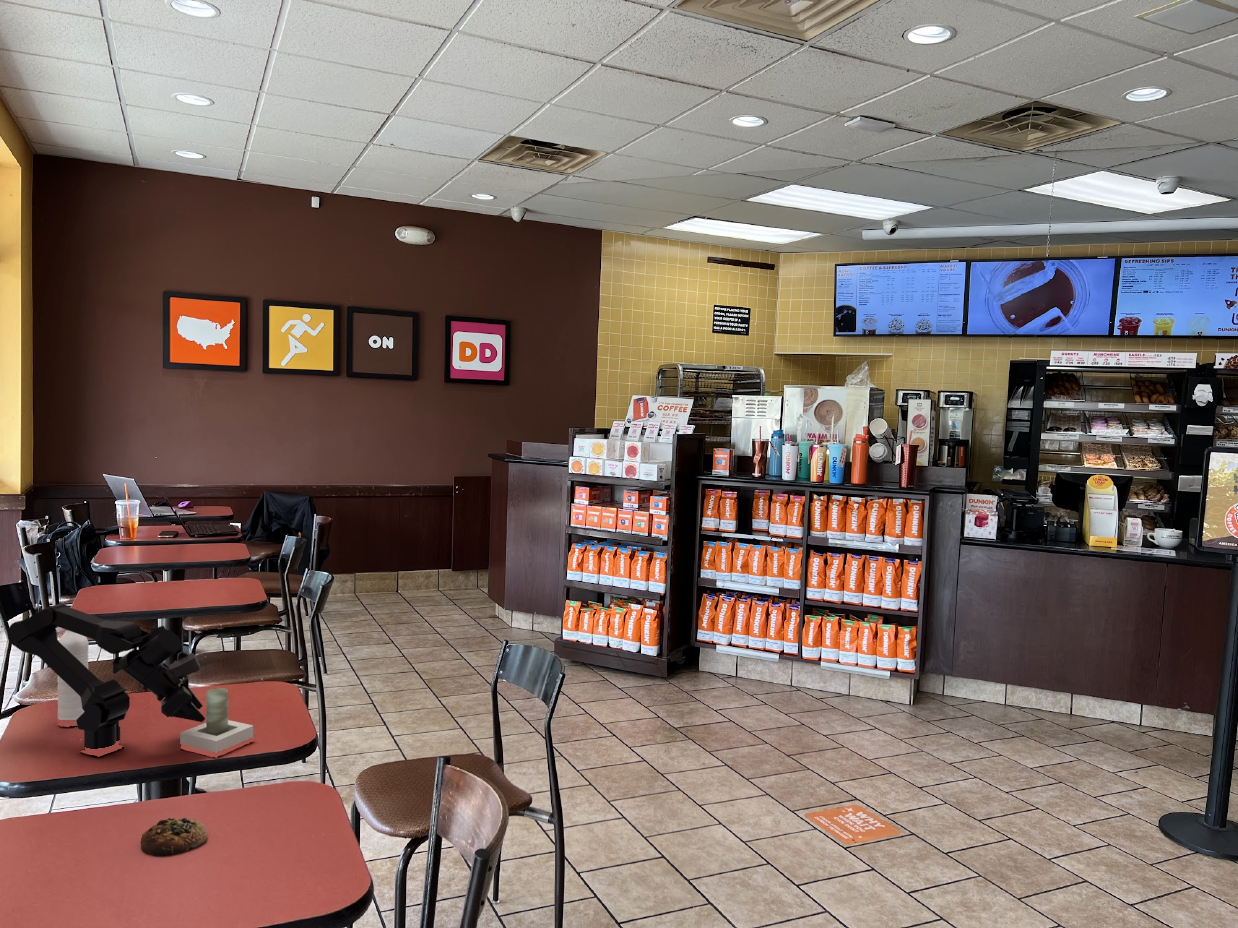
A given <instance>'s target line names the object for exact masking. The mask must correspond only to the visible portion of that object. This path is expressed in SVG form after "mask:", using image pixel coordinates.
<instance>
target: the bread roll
mask: <svg viewBox="0 0 1238 928" xmlns="http://www.w3.org/2000/svg"><path fill="white" fill-rule="evenodd" d="M207 833H208V831H207V827H206V826H205V825H204V823H202V822H200V821H198V819H193V820H192V819H191V820H190V818H187V817H183V818H181V819H180V818H178V819H177V818H173V817H172V818H171V817H168V818H167V819H160V820H159V821H158V822H157V823H156V824H153V825H152V826H151V827H149V828H148V829H146V831H145V832H143V833H142V834H141V837H140V846H141V849H142V850H143V851H144V852H145V853H146V854H149V855H151V856H152V855H153V856H155V857H165V856H166V857H168V856H170V855H177V854H180V853H184V852H187V851H189V850H190V849H191V848H197V847H199V846H201V845H202V844H204V843H205V842H206V840H207V839H208V837H207Z"/></svg>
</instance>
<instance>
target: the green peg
mask: <svg viewBox="0 0 1238 928" xmlns="http://www.w3.org/2000/svg"><path fill="white" fill-rule="evenodd" d="M205 696H206V705H205V706H206V707H205V708H206V710H205V711H206V715H205V720H206V721H205V723H206V734H210V735H215V736H218V735H220V734H223V733H225V732H228V720H229V689H228V688H225V687H217V688H212V689H208V690H207V691H206V695H205Z"/></svg>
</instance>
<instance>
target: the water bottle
mask: <svg viewBox="0 0 1238 928" xmlns="http://www.w3.org/2000/svg"><path fill="white" fill-rule="evenodd" d="M65 630H66V629H65ZM88 639H89V638H88V637H85V636H82V635H80V634H77V633H74V632H71V631H69V630H66V631H65V632H64V633H63V634H62V635H61V637H60V639H59V640H58V641H59V642H60V643H61V644H62V645H63V646H64V647H65V648H66V649H67V650H68V651H69V652H70V653H71V654H72V655H74V656H75V657H76V658H77V659H78V660H79V661H80V662H81V663H82V664H83V665H84V666H85V667H86V668H87V669H88V670H89V640H88ZM57 707H58V708H57V720H58V719H59V720H77V719H78V718H79V717H80V716H81V715H82V714H83V713H84V710H83V709H82V703H81V697H80V696H79V695H78V694H77V693H76V692H75V691H74V690H73V689H72V688H71V687H70V686H69V685H68V684H67V683H66V682H65V681H63V680H62V679H61V678H60V677H59V676H58V675H57Z"/></svg>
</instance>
